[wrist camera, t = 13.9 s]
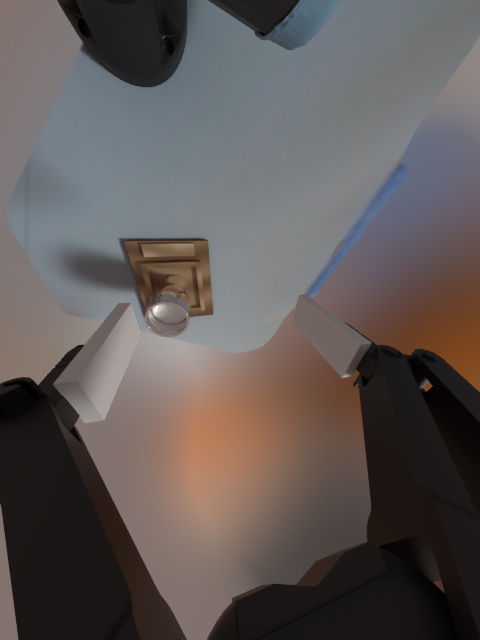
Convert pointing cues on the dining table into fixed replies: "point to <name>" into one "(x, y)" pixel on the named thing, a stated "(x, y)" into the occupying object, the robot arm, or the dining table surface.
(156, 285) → the tray
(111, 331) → the robot arm
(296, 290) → the dining table surface
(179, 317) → the beer glass
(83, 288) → the dining table surface
